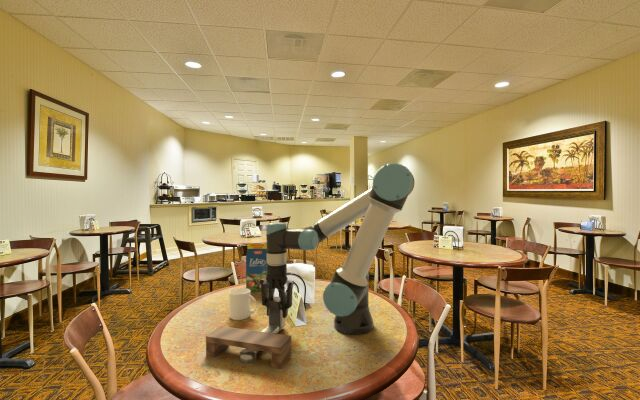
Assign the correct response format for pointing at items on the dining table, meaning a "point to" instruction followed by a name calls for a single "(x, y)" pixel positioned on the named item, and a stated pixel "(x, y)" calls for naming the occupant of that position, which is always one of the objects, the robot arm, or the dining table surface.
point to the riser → (250, 343)
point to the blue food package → (256, 266)
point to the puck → (247, 356)
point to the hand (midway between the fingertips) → (276, 324)
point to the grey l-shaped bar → (274, 316)
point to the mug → (241, 303)
